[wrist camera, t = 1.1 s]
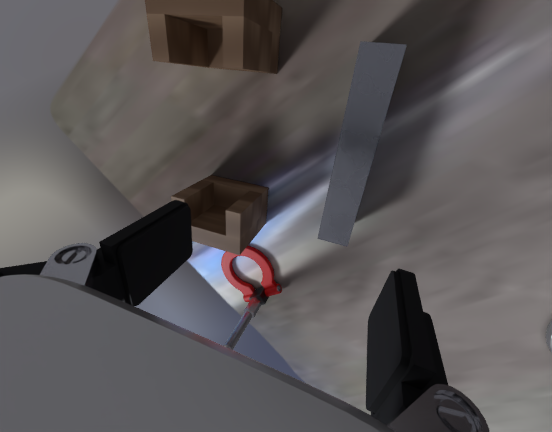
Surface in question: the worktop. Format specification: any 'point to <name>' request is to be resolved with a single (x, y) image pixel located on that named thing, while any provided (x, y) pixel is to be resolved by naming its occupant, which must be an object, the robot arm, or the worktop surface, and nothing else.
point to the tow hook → (249, 289)
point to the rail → (359, 136)
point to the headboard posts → (224, 55)
